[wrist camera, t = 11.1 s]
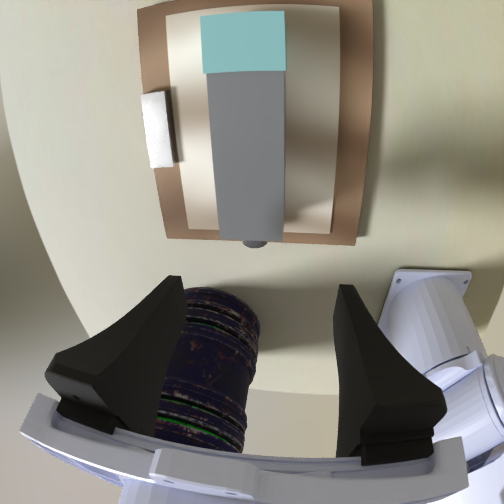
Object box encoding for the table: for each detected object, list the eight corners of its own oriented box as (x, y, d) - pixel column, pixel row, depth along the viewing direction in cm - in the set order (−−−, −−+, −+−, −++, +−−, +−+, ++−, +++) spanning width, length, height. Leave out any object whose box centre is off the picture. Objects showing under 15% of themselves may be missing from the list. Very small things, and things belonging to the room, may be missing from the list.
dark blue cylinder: (162, 338, 32) (117, 459, 20) (164, 274, 27) (93, 425, 15) (249, 362, 33) (227, 490, 21) (273, 303, 27) (252, 471, 15)
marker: (285, 227, 21) (283, 261, 18) (230, 225, 22) (219, 258, 18) (286, 21, 13) (284, 10, 10) (218, 24, 14) (200, 16, 11)
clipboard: (353, 238, 22) (356, 252, 21) (171, 231, 24) (163, 244, 22) (368, 0, 12) (375, -5, 11) (144, 11, 14) (131, 8, 13)
